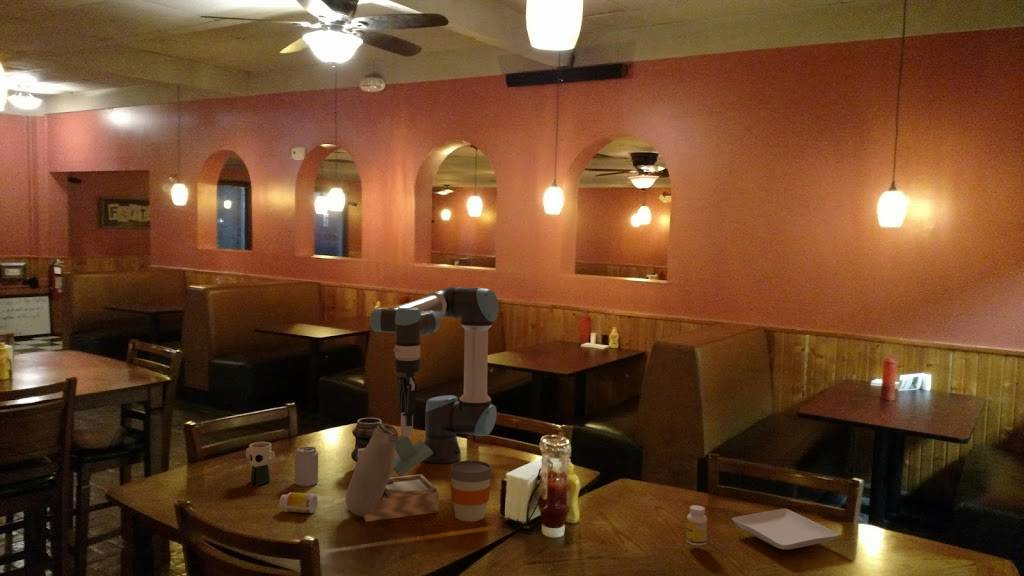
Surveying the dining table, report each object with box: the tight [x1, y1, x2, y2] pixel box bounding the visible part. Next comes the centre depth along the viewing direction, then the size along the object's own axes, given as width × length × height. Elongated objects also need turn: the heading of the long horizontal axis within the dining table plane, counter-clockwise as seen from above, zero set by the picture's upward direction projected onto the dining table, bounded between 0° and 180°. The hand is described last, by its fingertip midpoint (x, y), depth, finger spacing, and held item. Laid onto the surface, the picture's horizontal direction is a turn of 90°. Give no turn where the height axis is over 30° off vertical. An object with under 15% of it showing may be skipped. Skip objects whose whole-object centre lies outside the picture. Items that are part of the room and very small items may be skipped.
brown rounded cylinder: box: [345, 423, 399, 517], centre depth 217 cm, size 10×10×28 cm
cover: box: [392, 434, 434, 477], centre depth 227 cm, size 12×12×8 cm
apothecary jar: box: [350, 417, 383, 463], centre depth 261 cm, size 12×12×18 cm
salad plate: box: [731, 508, 840, 550], centre depth 212 cm, size 21×21×3 cm
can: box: [294, 446, 319, 488], centre depth 245 cm, size 8×8×12 cm
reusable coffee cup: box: [449, 459, 493, 522], centre depth 221 cm, size 13×12×15 cm
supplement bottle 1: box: [279, 491, 319, 514], centre depth 221 cm, size 6×6×10 cm
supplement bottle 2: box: [685, 504, 708, 546], centre depth 206 cm, size 5×5×10 cm
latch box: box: [361, 473, 440, 522], centre depth 226 cm, size 22×16×7 cm
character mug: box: [245, 441, 276, 486], centre depth 245 cm, size 11×7×13 cm, turn 72°
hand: (406, 434), depth 227 cm, fingers closed on cover, 2 cm apart
